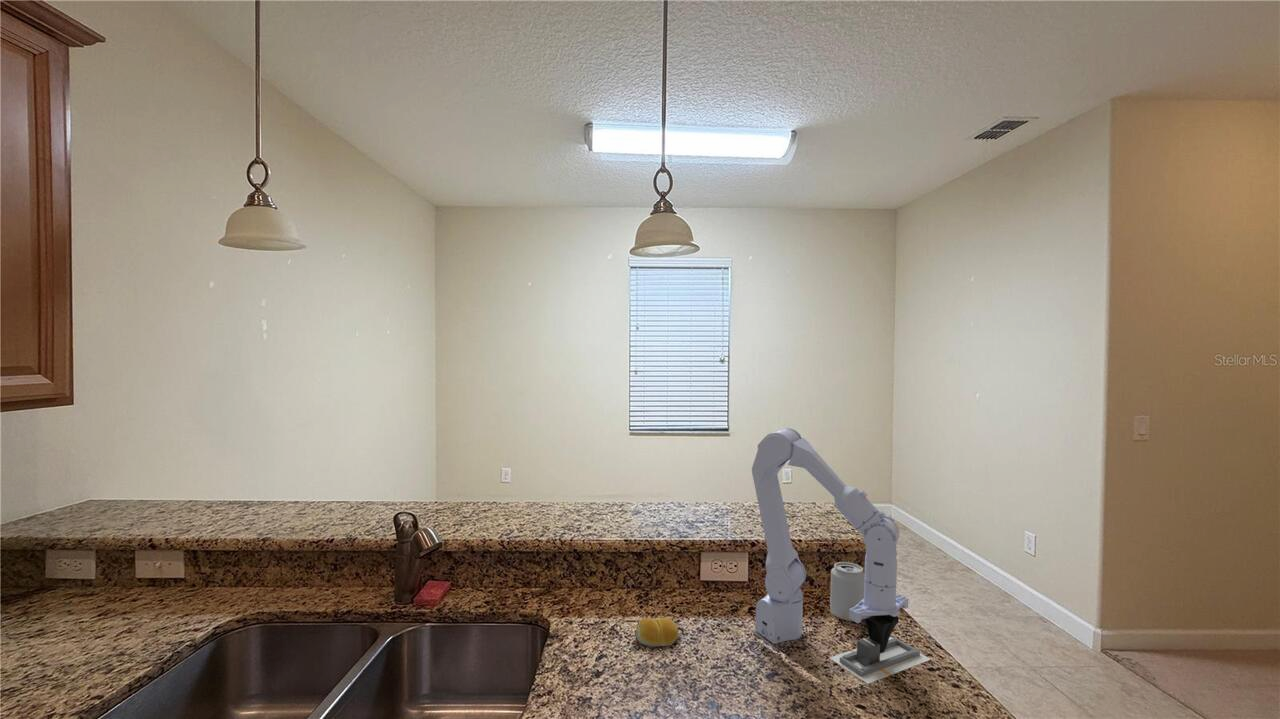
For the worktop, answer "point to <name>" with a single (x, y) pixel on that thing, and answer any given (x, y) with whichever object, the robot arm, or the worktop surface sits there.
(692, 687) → the worktop surface
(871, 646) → the fader
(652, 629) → the bread roll
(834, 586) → the can
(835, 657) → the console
